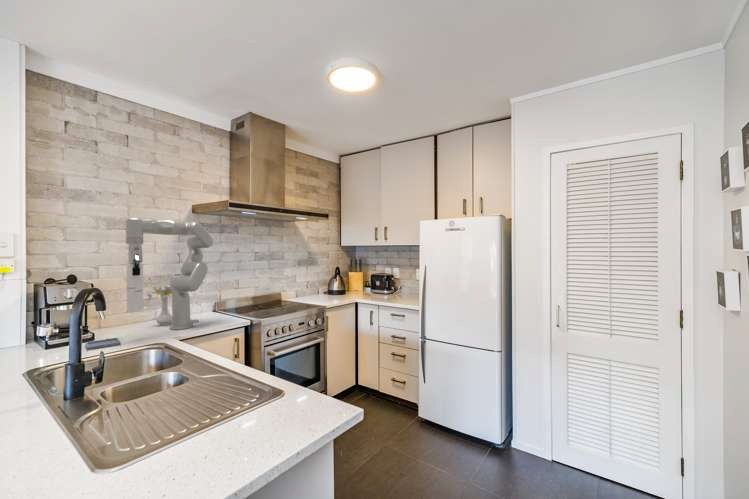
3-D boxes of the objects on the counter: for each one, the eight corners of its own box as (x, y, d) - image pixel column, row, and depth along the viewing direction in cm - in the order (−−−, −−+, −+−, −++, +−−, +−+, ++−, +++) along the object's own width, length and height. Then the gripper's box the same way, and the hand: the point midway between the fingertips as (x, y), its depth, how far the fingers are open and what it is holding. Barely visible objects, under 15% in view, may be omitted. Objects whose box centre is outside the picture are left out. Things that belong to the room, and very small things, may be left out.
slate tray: (117, 340, 179) (117, 337, 179) (120, 345, 170) (120, 342, 170) (85, 345, 171) (85, 342, 171) (86, 350, 161) (86, 347, 161)
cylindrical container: (128, 311, 181) (128, 264, 181) (144, 309, 184) (144, 263, 184) (125, 313, 174) (125, 264, 175) (142, 311, 177) (141, 264, 178)
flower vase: (144, 326, 213) (143, 286, 213) (176, 321, 227) (176, 283, 227) (150, 329, 205) (149, 287, 205) (183, 323, 218) (182, 285, 218)
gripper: (146, 241, 176) (146, 275, 176) (140, 242, 188) (140, 274, 188) (128, 240, 171) (128, 276, 170) (123, 242, 183) (123, 274, 183)
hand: (134, 274), depth 179 cm, fingers closed on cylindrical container, 7 cm apart
